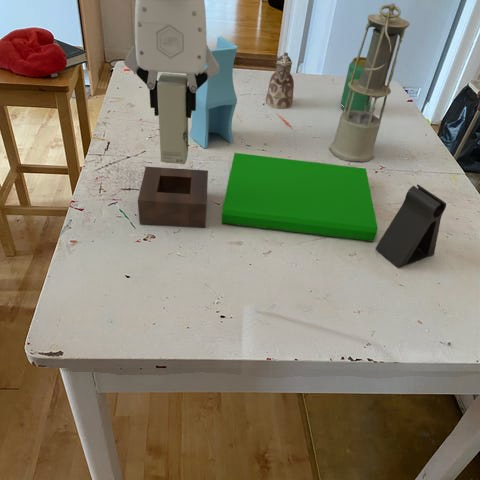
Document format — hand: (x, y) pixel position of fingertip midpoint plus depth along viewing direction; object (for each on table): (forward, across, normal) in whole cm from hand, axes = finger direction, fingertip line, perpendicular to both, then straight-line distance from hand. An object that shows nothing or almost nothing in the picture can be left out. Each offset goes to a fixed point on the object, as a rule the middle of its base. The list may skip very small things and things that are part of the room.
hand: (173, 112), depth 76 cm
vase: (+18, +6, +30) cm, 36 cm away
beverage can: (+18, +45, +54) cm, 73 cm away
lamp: (+18, +39, +27) cm, 51 cm away
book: (+18, +24, +5) cm, 30 cm away
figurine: (+18, +24, +54) cm, 62 cm away
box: (+8, 0, 0) cm, 8 cm away
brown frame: (+18, 0, 0) cm, 18 cm away
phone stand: (+18, +42, -10) cm, 47 cm away
